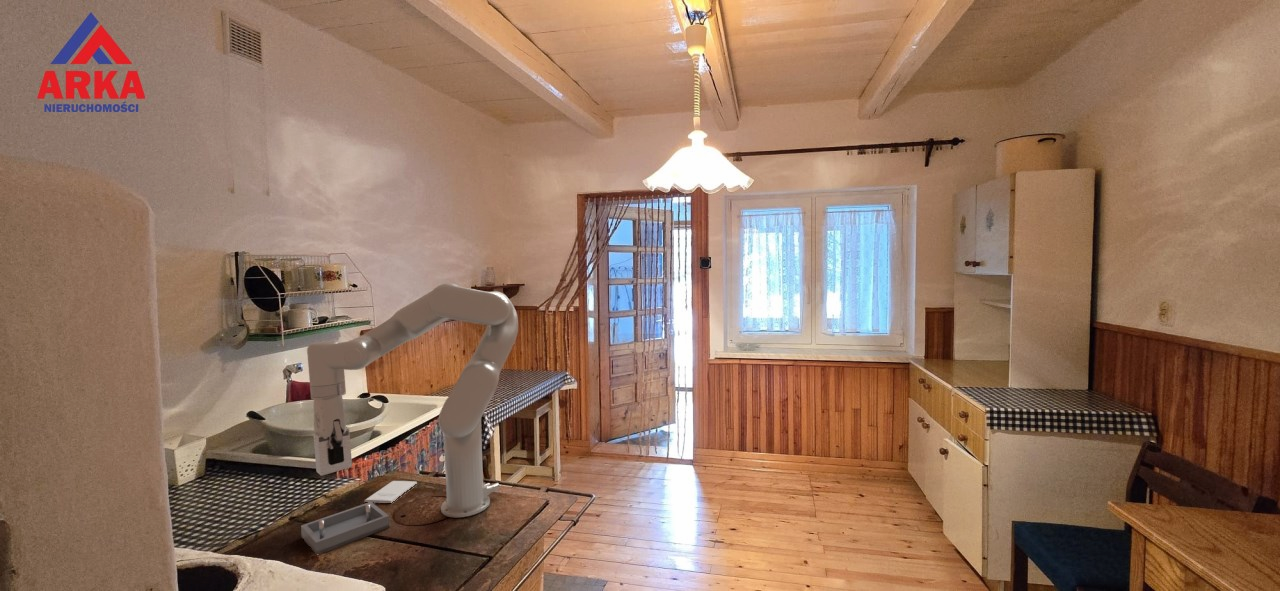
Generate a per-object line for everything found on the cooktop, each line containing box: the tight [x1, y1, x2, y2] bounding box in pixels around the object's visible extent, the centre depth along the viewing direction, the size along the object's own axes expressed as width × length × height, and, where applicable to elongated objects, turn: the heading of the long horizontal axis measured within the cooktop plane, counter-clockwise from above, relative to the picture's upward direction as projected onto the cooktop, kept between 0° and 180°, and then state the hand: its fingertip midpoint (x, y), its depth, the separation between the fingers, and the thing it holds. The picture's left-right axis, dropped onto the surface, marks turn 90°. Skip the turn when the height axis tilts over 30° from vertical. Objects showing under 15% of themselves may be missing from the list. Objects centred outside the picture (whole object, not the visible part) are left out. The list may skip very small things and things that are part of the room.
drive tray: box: [300, 502, 391, 556], centre depth 124 cm, size 16×12×5 cm
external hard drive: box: [364, 480, 418, 504], centre depth 145 cm, size 2×8×12 cm
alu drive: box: [312, 426, 353, 476], centre depth 127 cm, size 7×4×10 cm, turn 137°
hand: (333, 460), depth 127 cm, fingers closed on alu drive, 4 cm apart
